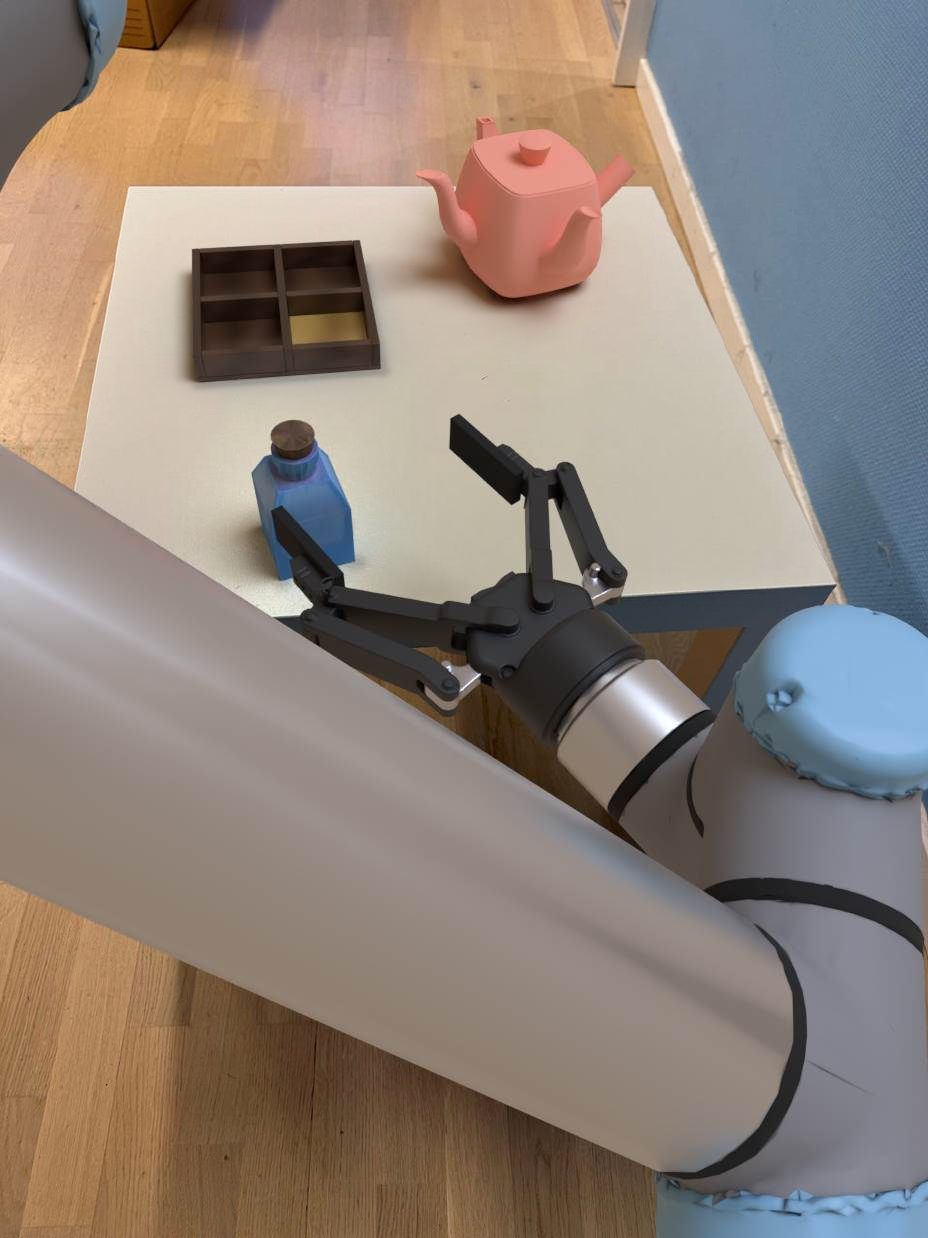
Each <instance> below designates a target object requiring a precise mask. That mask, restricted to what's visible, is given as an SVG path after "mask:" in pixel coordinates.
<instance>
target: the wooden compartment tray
mask: <svg viewBox="0 0 928 1238" xmlns="http://www.w3.org/2000/svg"><path fill="white" fill-rule="evenodd" d="M366 268H367V267H366V263H365V258H364V253H363V248H362V242H361V240H360V239H352V240H351V239H349V240H330V241H313V242H312V241H311V242H295V243H294V242H293V243H275V244H274V243H273V244H256V245H237V246H219V247H200V248H191V317H192V318H191V335H192V337H191V340H192V343H191V348H192V349H191V350H192V353H191V354H192V361H193V365H194V369H195V374H196V377H197V382H198V383H204V382H215V381H216V382H217V381H219V382H221V381H231V380H232V381H233V380H245V379H257V378H271V377H273V378H274V377H284V376H298V375H310V374H312V375H313V374H326V373H337V372H353V371H366V370H378V369H381V368H382V364H381V363H382V361H381V360H382V359H381V358H382V357H381V341H380V337H379V330H378V326H377V321H376V315H375V310H374V304H373V299H372V294H371V289H370V285H369V279H368V274H367V273H368V272H367V269H366Z"/></svg>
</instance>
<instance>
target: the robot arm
mask: <svg viewBox="0 0 928 1238" xmlns="http://www.w3.org/2000/svg"><path fill="white" fill-rule="evenodd" d="M127 9H128V0H0V193H1V192H2V190H3V189H4V187H5V184H6V182H7V180H8V178H9V176H10V174H11V172H12V170H13V169H14V167H15V165H16V163H17V162H18V160H19V159H20V157H21V156H22V154H23V153H24V152H25V150H26V149H27V147H28V146H29V144H31V142H32V141H33V140H34V138H36V135H38V134H39V132H40V131H41V130H42V129H43V127H45V126H46V125H47V123H49V121H50V120H51V119H52V118H54V117H55V116H56V115H58V113H63V112H68V111H70V110H72V109H73V108H75V107H76V106H78V105H79V104H83V102H84V101H86V100H87V99H88V98H89V97H90V96H91V95H92V94H93V92H94V90H95V88H96V87H97V84H98V81H99V77H100V74H101V73H102V72H103V71H104V70H105V69H106V67H107V66H108V64H109V63H110V62H111V60H112V59H113V57H114V55H115V53H116V51H117V48H118V46H119V44H120V41H121V38H122V35H123V31H124V28H125V24H126V17H127ZM448 439H449V440H448V441H449V443H448V449H449V450H450V451H451V452H452V453H453V454H454V455H455V456H457V458H459V459H460V460H461V461H462V462H463V463H464V464H465V465H466V466H467V467H468V468H470V470H472V471H473V472H474V473H475V474H476V475H477V476H479V478H481V479H482V480H483V482H485V483H486V484H487V485H488V486H489V487H490V488H492V490H494V491H495V492H496V493H497V494H498V495H499V496H500V497H501V498H502V499H503V500H505V502H507V503H508V504H509V505H510V506H513V505H515V504H517V503H518V502H521V497H522V496H523V497H524V503H523V509H524V539H525V540H524V541H525V545H524V546H525V572H517V573H516V572H514V571H513V570H511V571H510V572H508V573H506V574H505V575H504V576H502V577H501V578H500V579H499V580H498V581H497V582H496V583H495V584H494V585H492V586H489V587H487V588H484V589H481V590H479V591H478V592H476V593H474V594H473V595H471V596H470V602H469V603H467V602H461V601H455V600H445V601H444V602H443V603H435V602H431V601H425V600H420V599H414V598H408V597H402V596H397V595H391V594H385V593H380V592H376V591H370V590H369V591H368V590H364V589H358V588H354V587H353V588H352V587H347V586H346V582H345V573H344V572H343V571H342V569H341V568H340V567H339V565H336V564H335V563H334V562H333V561H332V560H331V559H330V558H329V556H328V555H327V554H326V553H325V552H324V551H323V550H322V549H321V548H320V547H319V545H318V544H317V543H316V542H315V541H314V540H313V539H312V538H311V537H310V536H309V534H308V533H307V532H306V531H305V530H304V529H303V528H302V527H301V526H300V525H299V523H298V522H297V521H296V520H295V519H294V518H293V517H292V516H291V515H290V514H289V512H288V511H287V510H286V509H285V508H284V507H283V506H282V505H281V506H279V507H277V508H275V509H273V510H271V514H272V519H273V524H274V529H275V534H276V539H277V541H278V542H279V543H280V545H281V546H282V547H283V548H284V549H285V550H286V551H287V553H288V554H289V555H290V556H291V557H292V558H293V559H291V560H289V562H290V567H291V573H292V577H293V578H292V582H293V583H294V585H295V586H296V587H297V588H298V589H299V590H300V591H301V593H302V594H303V595H304V597H306V598H307V600H308V601H309V602H310V603H311V605H312V606H311V607H309V608H306V609H303V611H301V613H300V615H299V623H300V627H301V634H300V633H298V632H297V631H295V630H293V629H292V628H290V627H289V626H287V625H286V624H284V623H283V622H281V621H279V620H278V619H276V618H275V617H274V616H272V615H270V614H268V613H267V612H265V611H264V610H262V609H260V608H259V607H258V606H256V605H254V604H253V603H251V602H249V601H248V600H247V599H245V598H243V597H242V596H240V595H239V594H237V593H235V592H234V591H232V590H231V589H229V588H227V587H226V586H224V585H223V584H222V583H220V582H218V581H216V580H215V579H213V578H212V577H210V576H209V575H207V574H205V573H204V572H203V571H201V570H199V569H198V568H196V567H194V566H193V565H191V564H190V563H188V562H187V561H185V560H183V559H182V558H180V557H179V556H177V555H176V554H174V553H172V552H171V551H169V550H168V549H166V548H164V547H163V546H161V545H160V544H158V543H157V542H155V541H154V540H152V539H151V538H149V537H147V536H145V534H143V533H141V532H139V531H138V530H136V529H135V528H133V527H132V526H130V525H128V524H127V523H126V522H124V521H122V520H121V519H119V518H117V517H116V516H114V515H113V514H111V513H110V512H108V511H107V510H105V509H103V508H102V507H100V506H98V505H97V504H95V503H94V502H92V501H90V500H89V499H88V498H87V497H84V496H83V495H82V494H80V493H79V492H77V491H75V490H74V489H72V488H70V487H69V486H67V485H66V484H64V483H62V482H61V481H60V480H58V479H56V478H55V477H53V476H51V475H50V474H48V473H47V472H45V471H44V470H42V469H41V468H39V467H37V466H36V465H34V464H32V463H31V462H30V461H28V460H27V459H25V458H23V457H21V456H20V455H19V454H17V453H15V452H13V451H12V450H11V449H9V448H8V447H6V446H4V445H3V444H1V443H0V882H2V883H4V884H6V885H9V886H11V887H12V888H15V889H18V890H20V891H22V892H25V893H27V894H28V895H32V896H34V897H36V898H38V899H40V900H43V901H45V902H47V903H49V904H51V905H53V906H56V907H59V908H61V909H63V910H65V911H68V912H70V913H72V914H74V915H77V916H79V917H81V918H83V919H86V920H88V921H89V922H93V923H95V924H97V925H99V926H101V927H103V928H106V929H108V930H110V931H113V932H115V933H117V934H120V935H122V936H124V937H127V938H128V939H131V940H133V941H136V942H138V943H140V944H142V945H145V946H147V947H149V948H151V949H154V950H155V951H157V952H160V953H161V954H165V955H167V956H169V957H172V958H174V959H176V960H178V961H181V962H183V963H185V964H187V965H190V966H192V967H194V968H196V969H199V970H201V971H204V972H205V973H208V974H211V975H213V976H214V977H217V978H219V979H222V980H224V981H226V982H228V983H231V984H233V985H235V986H236V987H239V988H242V989H244V990H246V991H249V992H251V993H253V994H255V995H258V996H260V997H261V998H264V999H267V1000H268V1001H272V1002H274V1003H276V1004H278V1005H280V1006H282V1007H285V1008H287V1009H289V1010H291V1011H294V1012H296V1013H299V1014H301V1015H302V1016H305V1017H307V1018H310V1019H312V1020H314V1021H316V1022H319V1023H321V1024H323V1025H325V1026H328V1027H329V1028H332V1029H334V1030H336V1031H339V1032H341V1033H344V1034H346V1035H348V1036H350V1037H353V1038H355V1039H357V1040H359V1041H362V1042H364V1043H366V1044H369V1045H371V1046H373V1047H376V1048H378V1049H379V1050H382V1051H385V1052H386V1053H389V1054H391V1055H393V1056H396V1057H398V1058H400V1059H403V1060H404V1061H407V1062H409V1063H411V1064H414V1065H416V1066H418V1067H421V1068H422V1069H426V1070H428V1071H429V1072H432V1073H434V1074H436V1075H439V1076H441V1077H443V1078H446V1079H447V1080H450V1081H453V1082H454V1083H457V1084H459V1085H461V1086H463V1087H466V1088H468V1089H471V1090H473V1091H475V1092H477V1093H479V1094H481V1095H484V1096H486V1097H489V1098H491V1099H493V1100H495V1101H497V1102H499V1103H502V1104H505V1105H506V1106H509V1107H512V1108H513V1109H516V1110H518V1111H520V1112H523V1113H524V1114H526V1115H529V1116H532V1117H534V1118H536V1119H538V1120H541V1121H543V1122H545V1123H548V1124H549V1125H552V1126H554V1127H556V1128H558V1129H561V1130H563V1131H565V1132H568V1133H570V1134H573V1135H575V1136H577V1137H579V1138H581V1139H584V1140H586V1141H588V1142H590V1143H593V1144H594V1145H597V1146H600V1147H602V1148H604V1149H606V1150H608V1151H611V1152H613V1153H615V1154H618V1155H620V1156H622V1157H624V1158H627V1159H629V1160H631V1161H634V1162H636V1163H638V1164H639V1165H643V1166H645V1167H647V1168H649V1169H651V1170H653V1171H654V1180H653V1181H654V1184H653V1187H654V1188H655V1189H656V1205H655V1206H656V1210H655V1211H656V1213H655V1215H656V1216H655V1236H656V1238H928V1036H927V1004H926V978H925V976H926V975H925V974H926V973H925V954H924V945H925V910H924V909H925V907H924V870H923V869H924V867H923V865H924V864H923V831H922V830H923V829H922V797H923V793H924V792H926V791H927V790H928V636H926V635H924V634H923V633H922V632H920V630H918V629H917V628H916V627H915V628H914V627H913V626H912V625H910V624H909V623H907V622H905V621H903V620H902V619H900V618H898V617H896V616H893V615H890V614H888V613H885V612H882V611H877V610H871V609H870V608H867V607H860V606H859V607H857V606H854V605H851V604H844V603H830V604H821V605H820V604H819V605H814V606H811V607H805V608H803V609H800V610H798V611H796V612H794V613H792V614H790V615H788V616H786V617H785V618H783V619H781V620H780V621H779V622H778V623H776V624H775V625H774V626H773V627H772V628H771V629H770V630H769V631H768V632H767V634H765V636H764V638H763V639H762V641H761V642H760V643H759V645H758V646H757V648H756V649H755V650H754V652H753V653H752V654H751V656H750V657H749V659H748V660H747V662H743V663H742V664H741V666H740V670H738V671H736V672H735V674H734V676H733V679H732V682H731V683H732V687H731V688H730V691H729V693H728V695H727V697H726V699H725V701H724V703H722V704H723V705H722V706H721V708H720V710H719V713H718V714H715V712H713V710H712V709H711V708H710V707H709V706H708V705H707V704H706V703H705V702H704V701H703V700H702V699H701V698H699V697H698V696H697V695H696V694H695V693H694V692H693V691H692V690H691V689H690V688H689V687H688V686H686V685H685V683H683V681H681V680H680V679H679V678H678V677H677V676H676V675H675V673H673V672H672V671H671V670H670V669H669V668H667V666H666V665H665V664H663V662H661V661H660V660H659V659H647V657H646V650H645V647H644V646H643V645H642V644H641V643H640V642H639V641H638V640H637V639H636V638H634V637H633V636H632V635H631V634H630V633H629V632H628V631H627V630H626V629H625V628H624V627H623V626H621V624H619V623H618V622H617V621H616V620H615V619H614V618H613V617H612V616H611V615H610V614H608V612H606V611H604V610H603V609H599V608H597V606H599V605H601V604H602V603H604V604H605V605H607V606H615V605H617V604H619V603H620V601H621V598H622V595H623V591H624V588H625V586H626V581H627V579H628V575H629V572H628V570H627V568H626V567H625V566H624V565H623V564H622V563H621V561H620V560H618V558H617V557H616V556H615V555H614V554H613V553H612V552H611V550H610V549H609V548H608V546H607V543H606V540H605V538H604V536H603V533H602V530H601V528H600V526H599V523H598V521H597V518H596V516H595V513H594V511H593V508H592V506H591V504H590V501H589V498H588V496H587V493H586V491H585V488H584V486H583V483H582V481H581V479H580V476H579V474H578V471H577V469H576V467H575V465H574V464H573V463H571V462H569V461H561V462H558V463H557V465H556V468H553V469H547V470H545V469H543V468H540V467H534V465H532V464H531V463H529V462H528V461H527V460H526V458H524V457H523V456H521V454H519V453H518V452H517V451H516V450H515V449H514V448H512V446H509V445H507V444H505V443H501V444H500V445H498V446H497V445H496V444H495V443H494V442H492V441H491V440H490V438H489V437H486V436H485V435H484V433H482V432H481V431H480V430H479V429H478V428H476V427H475V426H474V425H473V424H472V423H471V422H470V421H469V420H467V419H466V418H465V417H464V416H463V415H462V414H461V413H457V414H455V415H454V416H451V417H450V418H449V438H448ZM549 500H553V501H554V502H553V503H554V506H555V508H556V511H557V513H558V516H559V518H560V521H561V524H562V526H563V529H564V533H565V534H566V535H565V536H566V537H567V540H568V542H569V545H570V549H571V551H572V553H573V556H574V558H575V561H576V564H577V567H578V569H579V572H580V575H581V577H582V578H581V585H579V584H576V583H572V582H567V581H564V580H560V579H555V578H554V568H553V567H554V565H553V550H552V549H551V548H552V547H551V530H550V529H551V528H550V506H549V505H550V503H549ZM456 626H460V627H463V628H464V632H459V631H457V629H456ZM394 639H397V640H401V641H408V642H412V643H418V644H424V645H430V646H434V647H437V648H438V650H440V651H441V652H442V653H446V654H452V655H457V656H463V657H465V658H466V664H465V665H462V666H459V665H455V664H453V663H452V662H451V660H448V659H443V660H442V661H440V662H439V661H437V660H436V659H435V658H434V657H432V656H430V655H429V654H426V653H425V652H422V651H420V650H418V649H415V648H412V647H410V646H408V645H405V644H403V643H401V642H398V641H397V640H394ZM361 672H362V673H361ZM363 673H364V674H367V675H368V676H371V677H374V678H376V679H379V680H381V681H383V682H385V683H388V684H390V685H393V686H396V687H398V688H400V689H402V690H404V691H407V692H409V693H411V694H413V695H416V696H418V697H419V698H421V700H423V701H424V702H425V703H426V704H427V705H428V706H429V707H430V708H431V709H433V710H434V711H435V712H436V713H437V714H438V715H440V716H442V717H443V718H452V717H454V716H456V715H457V713H458V711H459V706H460V702H461V700H462V699H464V698H465V697H466V696H468V695H469V694H470V693H471V692H472V691H473V690H474V689H475V688H476V687H478V686H479V685H481V686H484V687H486V688H489V689H491V690H492V691H494V692H495V693H496V694H497V695H498V696H499V697H500V698H501V700H502V701H503V702H504V704H505V705H506V706H507V708H508V709H509V710H510V711H511V712H512V713H513V714H514V715H515V716H516V717H517V718H518V719H519V721H521V723H522V724H523V725H524V726H525V727H526V728H527V729H528V730H529V731H530V732H531V733H532V734H533V735H534V737H536V739H538V741H539V742H540V743H541V744H542V746H544V747H546V748H554V749H557V754H556V756H557V759H558V762H559V763H560V764H561V765H562V766H563V767H564V768H565V769H566V770H567V771H568V772H569V773H570V774H571V775H572V776H573V777H574V778H575V780H576V781H578V783H579V784H580V785H581V786H583V788H584V789H585V790H586V791H587V792H588V793H589V794H590V795H591V796H592V797H593V798H594V799H595V801H596V802H597V803H598V804H600V806H601V807H602V808H603V809H604V810H605V811H606V812H607V813H608V816H610V817H611V818H612V819H613V820H614V821H615V822H616V823H618V825H619V826H621V827H622V828H623V829H624V831H626V833H627V834H628V835H629V836H630V837H631V838H632V840H634V841H635V842H636V844H637V845H638V846H639V847H640V848H641V849H642V850H643V851H644V852H642V851H641V850H639V849H637V848H636V847H635V846H633V845H632V844H630V843H628V842H627V841H625V840H624V839H622V838H621V837H619V836H617V835H616V834H614V833H612V832H611V831H609V829H606V828H604V827H603V826H602V825H600V824H599V823H597V822H595V821H594V820H592V819H591V818H589V817H587V816H586V815H585V814H583V813H581V812H579V811H578V810H577V809H575V808H573V807H572V806H570V805H569V804H567V803H566V802H564V801H562V800H561V799H559V798H557V797H556V796H554V795H553V794H552V793H549V792H548V791H547V790H545V789H543V788H542V787H540V786H539V785H537V784H535V783H534V782H532V781H531V780H529V779H528V778H526V777H524V776H523V775H521V774H520V773H518V772H516V771H515V770H513V769H512V768H510V767H508V766H507V765H505V764H504V763H502V762H501V761H499V760H498V759H496V758H494V756H492V755H490V754H489V753H487V752H485V751H484V750H482V749H480V748H479V747H478V746H476V745H474V744H473V743H471V742H470V741H468V740H466V739H465V738H464V737H462V736H461V735H459V734H457V733H456V732H454V731H452V730H451V729H449V728H447V726H444V725H443V724H441V723H440V722H438V721H437V720H435V719H433V718H432V717H430V716H429V715H427V714H426V713H424V712H422V711H421V710H420V709H418V708H416V707H415V706H413V705H412V704H410V703H408V702H406V701H405V700H404V699H402V698H401V697H399V696H397V695H396V694H394V693H392V692H391V691H390V690H388V689H387V688H385V687H383V686H382V685H380V684H378V683H377V682H375V681H374V680H372V679H371V678H369V677H367V676H365V675H364V674H363Z"/></svg>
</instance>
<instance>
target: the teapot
mask: <svg viewBox="0 0 928 1238" xmlns="http://www.w3.org/2000/svg"><path fill="white" fill-rule="evenodd" d="M475 125H476V140H475V141H474V142H473V143H472V144H471V146H470V148H469V150H468V153H467V155H466V158H465V160H464V162H463V166H462V168H461V171H460V174H459V176H458V178H457V179H458V180H457V183H456V186H455V187H454V185H453V183H452V181H451V178H450V177H449V175H447V174H446V173H444V172H443V171H440V170H437V169H421V170H416V171H415V172H414V175H415V177H417V178H419V179H422V180H423V181H425V182H427V183H429V184H430V185H431V186H432V187H433V190H434V192H435V195H436V199H437V206H438V214H439V219H440V223H441V225H442V228H443V230H444V232H445V233H446V235H447V236H448V238H449V239H450V240H451V241H452V242H453V243H454V244H455V245H456V246H458V249H459V250H460V252H461V254H462V256H463V258H464V261H465V263H466V264H467V265H468V267H469V268H470V270H471V271H472V272H473V273H474V274H475V275H476V276H477V277H478V279H480V280H481V281H482V282H483V283H484V284H485V285H486V286H487V287H489V288H490V290H492V291H494V292H495V293H496V294H497V295H499V296H501V297H505V298H510V299H511V298H522V297H528V296H529V297H530V296H535V295H539V294H543V293H545V294H546V293H548V292H552V291H556V290H561V289H565V288H568V287H572V286H575V285H577V284H581V283H583V282H585V281H587V279H588V278H590V275H592V274H593V272H594V271H595V269H596V268H597V266H598V263H599V261H600V257H601V252H602V243H603V240H602V239H603V213H602V208H603V207H604V206H605V205H606V204H607V203H608V202H609V201H610V200H611V199H612V198H613V197H614V196H615V195H616V194H617V193H618V192H619V191H620V190H621V188H623V187H624V185H625V184H627V182H629V181H630V179H631V178H633V176H634V175H635V174H636V173H637V171H636V169H634V167H632V165H631V164H630V163H629V162H628V160H627V159H625V157H624V156H623V155H622V154H621V153H620V152H618V154H617V155H615V157H614V158H612V160H610V162H609V163H608V164H607V165H606V166H605V167H604V168H603V169H602V170H601V171H600V172H599V173H598V174H597V175H596V174H595V171H594V170H593V168H592V167H591V165H590V164H589V162H588V161H587V160H586V158H585V157H584V156H583V155H582V154H581V153H580V152H579V150H577V148H575V147H574V146H573V145H572V144H571V143H570V142H568V141H567V140H566V139H565V138H563V137H562V136H561V135H559V134H557V133H556V132H554V131H552V130H550V129H545V128H539V129H529V130H522V131H516V132H510V133H504V134H500V133H499V131H498V127H497V126H496V121H495V120H494V119H493V118H491V117H490V116H489V115H486V116H480V117H475Z"/></svg>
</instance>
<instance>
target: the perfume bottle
mask: <svg viewBox="0 0 928 1238" xmlns="http://www.w3.org/2000/svg"><path fill="white" fill-rule="evenodd" d="M315 437H316V433H315V429H314V428H313V426H312V425H311V424H309V423H308V422H307V421H303V420H300V419H287V420H284V421H281V422H279V423H278V424H276V425H274V427H273V428H272V429H271V432H270V441H271V444H270V453H271V454H267V455H264V456H263V457H262V459H261V460H260V461H259V462H258V464H257V465H256V466H255V467H254V469H253V470H252V471H251V472H250V473H251V478H252V484H253V490H254V494H255V498H256V503H257V504H256V505H257V510H258V515H259V518H260V524H261V527H262V530H263V533H264V535H265V539H266V542H267V544H268V548H269V550H270V553H271V556H272V558H273V559H272V560H273V563H274V564H275V567H276V570H277V573H278V575H279V579H280V581H285V580H288V579H293V577H292V573H291V567H290V562H289V560H291V559H293V558H292V557H291V556H290V555H289V554H288V553H287V551H286V550H285V549H284V548H283V547H282V546H281V545H280V543H279V542H278V541H277V539H276V534H275V529H274V524H273V519H272V514H271V510H273V509H275V508H277V507H279V506H281V505H282V506H283V507H284V508H285V509H286V510H287V511H288V512H289V514H290V515H291V516H292V517H293V518H294V519H295V520H296V521H297V522H298V523H299V525H300V526H301V527H302V528H303V529H304V530H305V531H306V532H307V533H308V534H309V536H310V537H311V538H312V539H313V540H314V541H315V542H316V543H317V544H318V545H319V547H320V548H321V549H322V550H323V551H324V552H325V553H326V554H327V555H328V556H329V558H330V559H331V560H332V561H333V562H334V563H335V564H336V565H337V566H341V565H344V564H348V563H352V562H355V561H356V553H355V543H354V542H355V541H354V529H353V527H354V526H353V514H352V508H351V506H350V504H349V501H348V499H347V496H346V494H345V492H344V489H343V487H342V484H341V482H340V480H339V477H338V475H337V473H336V471H335V468H334V466H333V463H332V461H331V459H330V457H329V454H327V453H326V452H325V451H324V450H323V449H322V448H320V446H319V443H318V441H317V439H316V438H315Z"/></svg>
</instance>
